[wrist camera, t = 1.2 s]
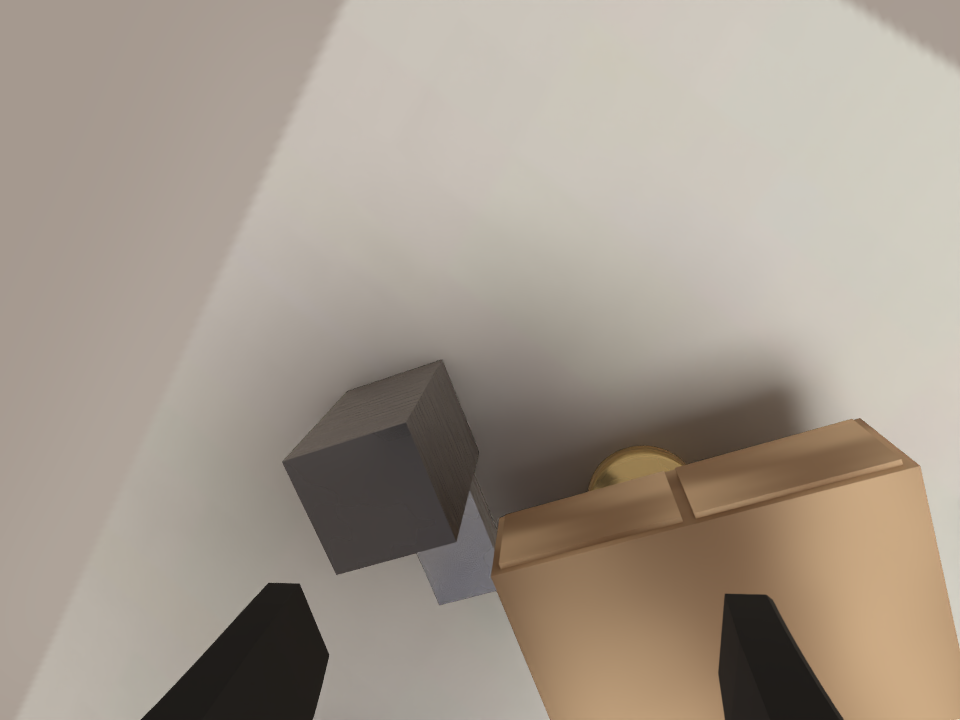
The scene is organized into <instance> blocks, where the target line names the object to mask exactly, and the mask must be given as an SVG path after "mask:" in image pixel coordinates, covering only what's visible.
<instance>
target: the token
mask: <svg viewBox="0 0 960 720" xmlns="http://www.w3.org/2000/svg"><path fill="white" fill-rule="evenodd" d="M683 465H686V464H685V463H684V462H683V461H682V460H681V459H680V458H679V457H677V456H676V455H675V454H673V453H671V452H669V451H667V450H664V449H662V448H658V447H653V446H633V447H628V448H625V449H622V450H619V451H617V452H615V453H613V454H612V455H610V456H609V457H607V458H606V459H605V460H604V461H603V462H602V463H601V464H600V465H599V466H598V467H597V469H596V470H595V472H594V473H593V475H592V478H591V480H590V483H589V489H588V492H589V491H593V490H596V489H600V488H604V487H607V486H611V485H615V484H618V483H622V482H625V481H629V480H633V479H636V478H640V477H644V476H647V475H651V474H654V473H658V472H662V471H664V472H667V471H671V470H674V469H675V468H676V467H680V466H683Z"/></svg>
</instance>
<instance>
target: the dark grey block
mask: <svg viewBox="0 0 960 720" xmlns="http://www.w3.org/2000/svg"><path fill="white" fill-rule="evenodd" d="M478 455H479V451H478V449H477V446H476V444H475V441H474V439H473V436H472V434H471V431H470V429H469V426H468V424H467V421H466V419H465V416H464V413H463V411H462V408H461V406H460V403H459V401H458V398H457V396H456V393H455V391H454V388H453V386H452V383H451V381H450V378H449V376H448V373H447V371H446V368H445V366H444V363H443V361H442V360H439V361H436V362H433V363H430V364H427V365H424V366H421V367H418V368H415V369H412V370H409V371H406V372H403V373H400V374H397V375H394V376H392V377H389V378H386V379H383V380H380V381H377V382H374V383H371V384H368V385H365V386H362V387H359V388H356V389H353V390H350V391H347V392H346V393H345V394H344V395H343V397H342V398H341V399H340V400H339V401H338V402H337V403H336V404H335V405H334V406H333V407H332V408H331V409H330V411H329V412H328V413H327V414H326V415H325V416H324V417H323V418H322V419H321V420H320V421H319V422H318V424H317V425H316V426H315V427H314V428H313V429H312V430H311V431H310V432H309V433H308V434H307V435H306V436H305V438H304V439H303V440H302V441H301V442H300V443H299V444H298V445H297V446H296V447H295V448H294V449H293V451H292V452H291V453H290V454H289V455H288V456H287V457H286V458H285V459H284V460H283V461H282V463H283V465H284V467H285V469H286V471H287V473H288V475H289V477H290V479H291V481H292V483H293V485H294V488H295V490H296V492H297V494H298V496H299V498H300V500H301V502H302V504H303V506H304V508H305V510H306V512H307V514H308V517H309V519H310V521H311V523H312V525H313V527H314V529H315V531H316V533H317V535H318V537H319V539H320V541H321V544H322V546H323V548H324V550H325V552H326V554H327V556H328V558H329V560H330V562H331V564H332V566H333V568H334V570H335V573H336V575H338V574H341V573H345V572H349V571H352V570H356V569H360V568H363V567H367V566H371V565H374V564H378V563H382V562H385V561H389V560H393V559H396V558H400V557H404V556H407V555H411V554H415V553H417V555H418V558H419V560H420V562H421V564H422V567H423V569H424V571H425V573H426V576H427V578H428V580H429V582H430V585H431V587H432V589H433V591H434V594H435V596H436V598H437V600H438V603H439V605H442V604H446V603H450V602H454V601H458V600H462V599H466V598H470V597H474V596H478V595H482V594H485V593H489V592H493V591H497V590H496V588H495V586H494V583H493V581H492V578H491V571H492V565H493V558H494V551H495V544H496V538H497V530H496V527H495V525H494V522H493V520H492V517H491V515H490V512H489V510H488V507H487V505H486V502H485V500H484V497H483V495H482V492H481V490H480V487H479V485H478V483H477V480H476V478H475V475H474V471H475V467H476V463H477V459H478Z"/></svg>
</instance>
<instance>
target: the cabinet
mask: <svg viewBox="0 0 960 720" xmlns="http://www.w3.org/2000/svg"><path fill="white" fill-rule="evenodd" d="M491 578H492V581H493V583H494V586H495V588H496V590H497V593H498V595H499V598H500V600H501V602H502V605H503V607H504V610H505V612H506V614H507V617H508V619H509V622H510V624H511V626H512V629H513V631H514V634H515V636H516V639H517V641H518V643H519V646H520V648H521V651H522V653H523V655H524V658H525V660H526V663H527V665H528V667H529V670H530V672H531V675H532V677H533V679H534V682H535V684H536V687H537V689H538V692H539V694H540V696H541V699H542V701H543V704H544V706H545V708H546V711H547V713H548V716H549V718H550V720H725V717H724V710H723V703H722V696H721V689H720V682H719V676H718V669H719V657H720V645H721V633H722V621H723V608H724V596H725V594H765V595H768V596H769V597H770V598H771V599H773V601H774V603H775V605H776V607H777V609H778V611H779V613H780V614H781V616H782V618H783V620H784V622H785V624H786V626H787V627H788V629H789V631H790V633H791V635H792V636H793V638H794V640H795V642H796V643H797V645H798V647H799V649H800V650H801V652H802V654H803V655H804V657H805V659H806V660H807V662H808V664H809V665H810V667H811V669H812V670H813V672H814V673H815V675H816V677H817V678H818V680H819V682H820V683H821V685H822V686H823V688H824V690H825V691H826V693H827V694H828V696H829V697H830V699H831V701H832V702H833V704H834V705H835V707H836V708H837V710H838V711H839V713H840V714H841V716H842V717H843V719H844V720H956V719H960V649H959V644H958V639H957V635H956V630H955V625H954V621H953V616H952V612H951V607H950V602H949V598H948V593H947V588H946V584H945V579H944V574H943V570H942V565H941V560H940V556H939V551H938V547H937V542H936V537H935V533H934V528H933V523H932V519H931V514H930V509H929V505H928V500H927V495H926V491H925V486H924V481H923V477H922V472H921V468H920V465H918V464H917V463H916V462H915V461H913V460H912V459H911V458H909V457H908V456H907V455H906V454H904V453H903V452H902V451H901V450H899V449H898V448H897V447H896V446H894V445H893V444H892V443H891V442H889V441H888V440H887V439H886V438H884V437H883V436H882V435H881V434H879V433H878V432H877V431H875V430H874V429H873V428H872V427H870V426H869V425H868V424H867V423H865V422H864V421H863V420H862V419H860V418H859V419H856V420H853V419H850V420H846V421H842V422H839V423H835V424H832V425H828V426H824V427H821V428H817V429H813V430H810V431H806V432H803V433H799V434H795V435H792V436H788V437H785V438H781V439H777V440H774V441H770V442H766V443H763V444H759V445H756V446H752V447H748V448H745V449H741V450H738V451H734V452H730V453H727V454H723V455H719V456H716V457H712V458H709V459H705V460H701V461H698V462H694V463H691V464H687V465H683V466H680V467H676V468H675V469H674V470H671V471H667V472H664V471H662V472H658V473H654V474H651V475H647V476H644V477H640V478H636V479H633V480H629V481H625V482H622V483H618V484H615V485H611V486H607V487H604V488H600V489H596V490H593V491H589V492H586V493H582V494H578V495H575V496H571V497H568V498H564V499H560V500H557V501H553V502H549V503H546V504H542V505H539V506H535V507H531V508H528V509H524V510H521V511H517V512H513V513H510V514H506V515H505V516H504V517H501V518H499V524H498V531H497V538H496V544H495V551H494V558H493V565H492V571H491Z"/></svg>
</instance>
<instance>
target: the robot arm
mask: <svg viewBox="0 0 960 720" xmlns="http://www.w3.org/2000/svg"><path fill="white" fill-rule="evenodd" d="M328 659H329V653H328V651H327V648H326V646H325V644H324V641H323V639H322V636H321V634H320V632H319V629H318V627H317V624H316V622H315V619H314V617H313V615H312V612H311V610H310V607H309V605H308V603H307V600H306V598H305V595H304V593H303V591H302V588H301V586H300V584H292V583H268V584H267V585H266V586H265V587H264V588H263V589H262V591H261V592H260V593H259V594H258V595H257V596H256V597H255V598H254V599H253V600H252V601H251V602H250V603H249V604H248V606H247V607H246V608H245V609H244V610H243V611H242V612H241V613H240V614H239V615H238V617H237V618H236V619H235V620H234V621H233V622H232V623H231V624H230V625H229V626H228V628H227V629H226V630H225V631H224V632H223V633H222V634H221V635H220V636H219V637H218V639H217V640H216V641H215V642H214V643H213V644H212V645H211V646H210V647H209V648H208V650H207V651H206V652H205V653H204V654H203V655H202V656H201V657H200V658H199V659H198V660H197V661H196V663H195V664H194V665H193V666H192V667H191V668H190V669H189V670H188V671H187V672H186V673H185V674H184V675H183V676H182V677H181V678H180V680H179V681H178V682H177V683H176V684H175V685H174V686H173V687H172V688H171V689H170V690H169V691H168V692H167V693H166V694H165V696H164V697H163V698H162V699H161V700H160V701H159V702H158V703H157V704H156V705H155V706H154V707H153V708H152V709H151V710H150V711H149V712H148V713H147V714H146V715H145V716H144V717H143V718H142V719H141V720H313V717H314V714H315V710H316V707H317V703H318V699H319V695H320V692H321V688H322V684H323V680H324V675H325V671H326V667H327V663H328ZM718 676H719V682H720V689H721V696H722V703H723V710H724V717H725V720H844V719H843V717H842V716H841V714H840V713H839V711H838V710H837V708H836V707H835V705H834V704H833V702H832V701H831V699H830V697H829V696H828V694H827V693H826V691H825V690H824V688H823V686H822V685H821V683H820V682H819V680H818V678H817V677H816V675H815V673H814V672H813V670H812V669H811V667H810V665H809V664H808V662H807V660H806V659H805V657H804V655H803V654H802V652H801V650H800V649H799V647H798V645H797V643H796V642H795V640H794V638H793V636H792V635H791V633H790V631H789V629H788V627H787V626H786V624H785V622H784V620H783V618H782V616H781V614H780V613H779V611H778V609H777V607H776V605H775V603H774V601H773V599H771V598H770V597H769V596H768V595H765V594H725V596H724V608H723V621H722V633H721V645H720V657H719V669H718Z"/></svg>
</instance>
